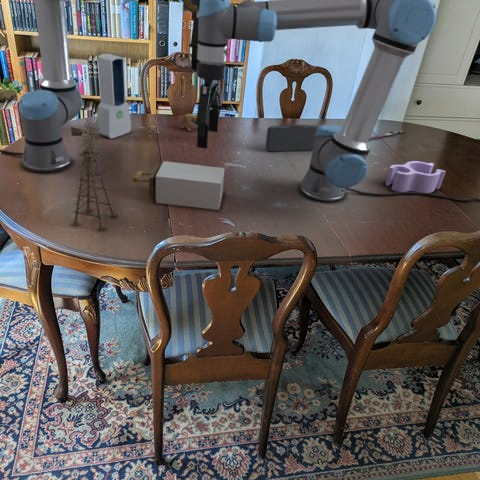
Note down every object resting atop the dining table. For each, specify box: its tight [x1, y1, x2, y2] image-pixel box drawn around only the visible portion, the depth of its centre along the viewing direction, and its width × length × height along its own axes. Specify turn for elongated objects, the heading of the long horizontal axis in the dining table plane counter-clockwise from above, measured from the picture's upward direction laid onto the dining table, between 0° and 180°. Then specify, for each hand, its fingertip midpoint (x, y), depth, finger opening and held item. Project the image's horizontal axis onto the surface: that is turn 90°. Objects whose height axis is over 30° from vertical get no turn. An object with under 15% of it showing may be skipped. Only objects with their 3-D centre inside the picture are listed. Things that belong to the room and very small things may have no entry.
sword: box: [369, 130, 405, 141], centre depth 214 cm, size 31×3×1 cm, turn 126°
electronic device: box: [95, 53, 132, 139], centre depth 180 cm, size 12×8×30 cm, turn 148°
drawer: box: [132, 163, 161, 200], centre depth 146 cm, size 24×10×7 cm, turn 86°
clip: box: [385, 160, 447, 194], centre depth 170 cm, size 20×12×7 cm, turn 109°
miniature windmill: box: [70, 115, 115, 230], centre depth 124 cm, size 9×8×30 cm
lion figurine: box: [177, 113, 209, 132], centre depth 198 cm, size 15×5×9 cm, turn 110°
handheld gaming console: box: [264, 124, 320, 152], centre depth 189 cm, size 23×3×10 cm, turn 108°
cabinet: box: [155, 160, 226, 211], centre depth 146 cm, size 20×11×9 cm, turn 86°
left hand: (200, 65), depth 149 cm, fingers open, 13 cm apart
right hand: (207, 139), depth 134 cm, fingers open, 13 cm apart
